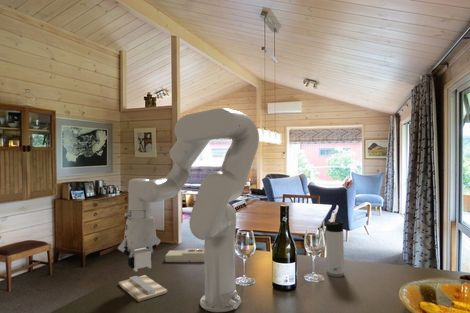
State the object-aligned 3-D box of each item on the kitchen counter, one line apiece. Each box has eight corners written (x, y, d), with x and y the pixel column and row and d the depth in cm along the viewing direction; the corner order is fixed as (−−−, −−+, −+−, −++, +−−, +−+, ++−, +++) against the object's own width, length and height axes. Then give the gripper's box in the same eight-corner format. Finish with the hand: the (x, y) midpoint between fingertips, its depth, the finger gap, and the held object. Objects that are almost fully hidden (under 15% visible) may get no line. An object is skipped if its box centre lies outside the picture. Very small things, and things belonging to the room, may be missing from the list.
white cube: (151, 267, 114) (151, 251, 113) (135, 271, 110) (135, 254, 110) (143, 262, 118) (143, 246, 118) (128, 266, 115) (128, 249, 115)
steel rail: (155, 292, 108) (155, 289, 108) (148, 294, 107) (148, 291, 107) (136, 278, 121) (136, 275, 121) (129, 280, 119) (129, 277, 119)
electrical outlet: (169, 248, 149) (208, 248, 148) (169, 257, 149) (208, 257, 148) (165, 253, 142) (206, 253, 141) (165, 262, 142) (206, 262, 141)
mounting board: (167, 292, 110) (167, 289, 110) (138, 301, 104) (138, 298, 104) (144, 277, 124) (144, 274, 124) (118, 284, 118) (118, 282, 118)
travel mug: (339, 278, 119) (338, 224, 119) (323, 273, 124) (322, 221, 124) (347, 274, 123) (347, 221, 123) (332, 269, 128) (331, 219, 128)
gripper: (119, 219, 105) (119, 274, 106) (167, 212, 116) (167, 263, 117) (111, 215, 111) (111, 268, 112) (157, 209, 122) (158, 257, 122)
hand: (140, 265), depth 114 cm, fingers closed on white cube, 5 cm apart
